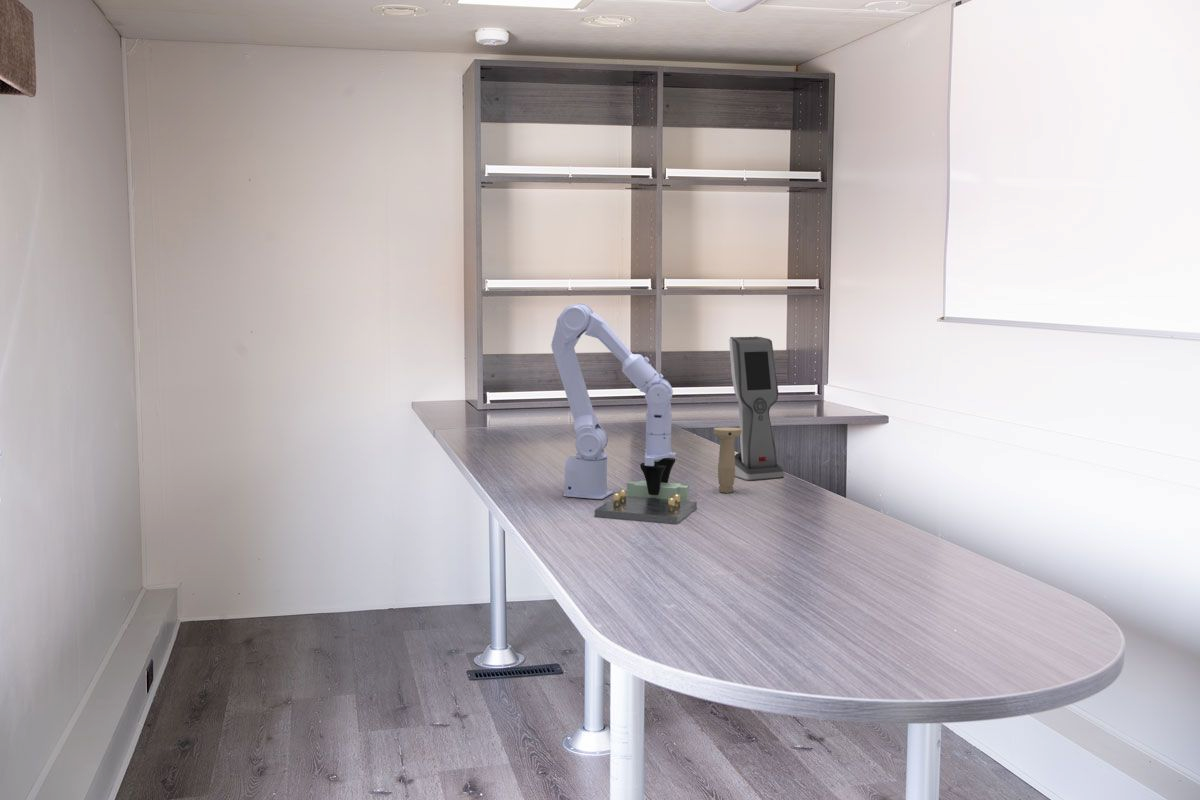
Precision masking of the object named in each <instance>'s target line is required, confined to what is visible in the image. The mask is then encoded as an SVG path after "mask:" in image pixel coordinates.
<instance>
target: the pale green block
mask: <svg viewBox="0 0 1200 800" xmlns="http://www.w3.org/2000/svg"><path fill="white" fill-rule="evenodd" d="M689 491H690V489H689V485H683V484H682V483H676V482H675V483H674V482H668V483H664V482H661V484H660V491H659V494H658V495H649V492H648V488H647V483H646V480H639V481H628V482H627V483H626V496H634V497H647V498H659V499H668V498H674V494H680V500H683V501H689Z"/></svg>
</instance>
